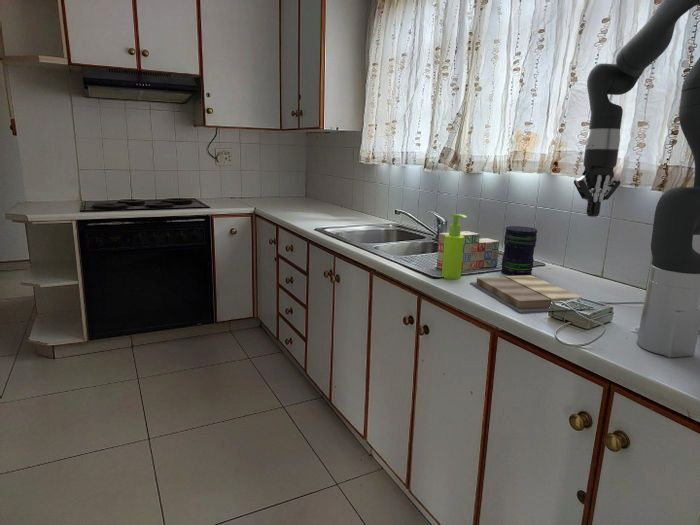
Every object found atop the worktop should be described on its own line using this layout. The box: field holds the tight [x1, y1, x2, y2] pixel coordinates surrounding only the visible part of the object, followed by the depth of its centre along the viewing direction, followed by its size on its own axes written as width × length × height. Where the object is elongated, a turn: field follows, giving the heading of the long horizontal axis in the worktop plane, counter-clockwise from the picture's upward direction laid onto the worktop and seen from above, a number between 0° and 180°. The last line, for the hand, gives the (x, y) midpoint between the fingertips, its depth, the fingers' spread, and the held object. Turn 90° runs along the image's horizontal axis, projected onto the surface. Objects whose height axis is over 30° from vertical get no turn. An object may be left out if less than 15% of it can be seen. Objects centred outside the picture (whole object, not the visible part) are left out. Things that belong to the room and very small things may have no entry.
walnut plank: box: [476, 276, 551, 309], centre depth 130 cm, size 22×9×2 cm, turn 14°
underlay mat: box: [469, 281, 549, 314], centre depth 131 cm, size 26×22×1 cm
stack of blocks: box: [436, 230, 500, 271], centre depth 160 cm, size 21×6×12 cm, turn 116°
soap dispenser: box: [441, 213, 468, 280], centre depth 146 cm, size 6×7×20 cm
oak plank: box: [504, 275, 583, 305], centre depth 132 cm, size 22×9×2 cm, turn 14°
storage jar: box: [500, 225, 538, 276], centre depth 154 cm, size 10×10×15 cm
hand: (592, 216), depth 123 cm, fingers closed
